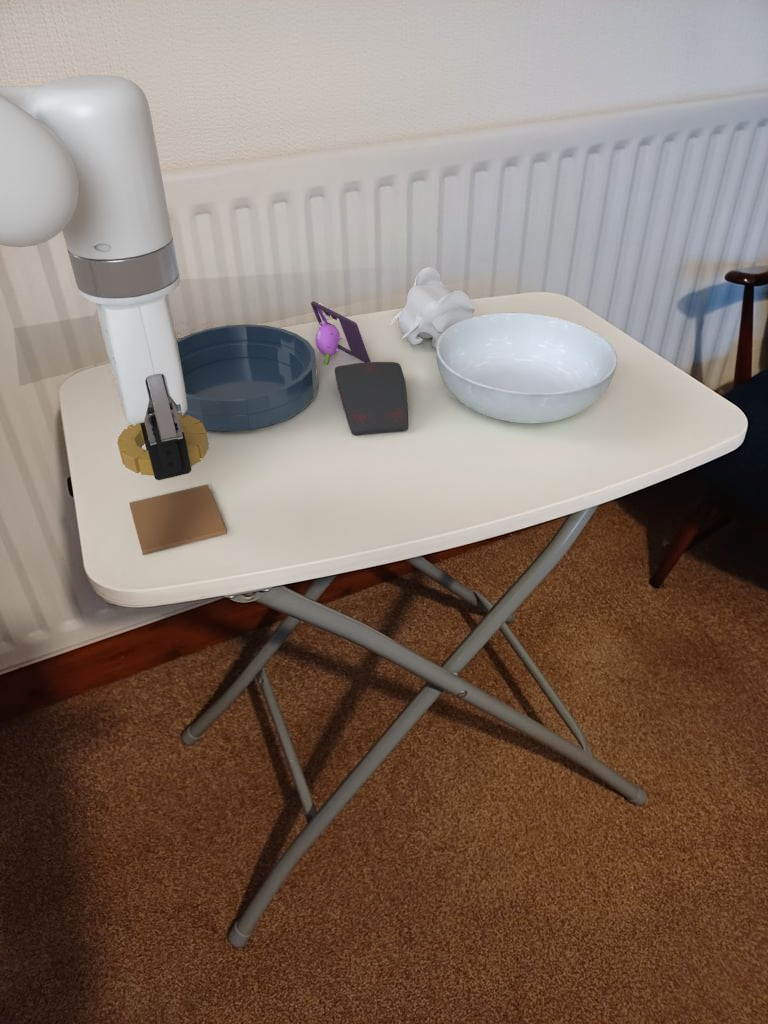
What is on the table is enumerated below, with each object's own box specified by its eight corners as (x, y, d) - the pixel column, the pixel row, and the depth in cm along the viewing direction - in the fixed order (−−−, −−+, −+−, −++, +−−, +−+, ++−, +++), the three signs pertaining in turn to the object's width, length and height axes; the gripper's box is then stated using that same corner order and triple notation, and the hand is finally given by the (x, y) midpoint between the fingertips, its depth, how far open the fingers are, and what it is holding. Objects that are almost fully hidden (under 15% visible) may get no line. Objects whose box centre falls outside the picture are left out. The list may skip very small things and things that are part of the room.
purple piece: (360, 319, 98) (316, 297, 103) (330, 344, 96) (287, 320, 101) (374, 359, 103) (331, 336, 108) (346, 383, 101) (304, 359, 107)
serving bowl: (635, 438, 89) (648, 385, 84) (454, 455, 86) (458, 401, 82) (573, 353, 105) (581, 305, 100) (419, 365, 102) (420, 316, 98)
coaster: (142, 555, 73) (141, 551, 73) (129, 506, 79) (128, 502, 79) (226, 533, 76) (226, 529, 76) (208, 488, 82) (207, 484, 81)
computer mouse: (395, 374, 100) (395, 345, 98) (415, 431, 90) (415, 401, 87) (332, 379, 99) (331, 350, 97) (345, 437, 89) (344, 407, 86)
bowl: (177, 449, 87) (170, 414, 84) (148, 372, 101) (141, 340, 98) (339, 414, 93) (337, 380, 90) (290, 345, 107) (288, 314, 104)
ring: (128, 484, 68) (124, 469, 67) (115, 438, 74) (112, 424, 73) (216, 463, 71) (214, 448, 70) (197, 420, 76) (195, 406, 75)
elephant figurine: (380, 335, 109) (379, 273, 104) (457, 320, 113) (460, 259, 107) (408, 365, 102) (409, 300, 97) (489, 348, 106) (494, 285, 100)
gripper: (63, 238, 63) (115, 430, 75) (85, 317, 52) (142, 530, 63) (157, 225, 65) (193, 414, 77) (198, 298, 54) (233, 507, 65)
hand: (170, 465), depth 70 cm, fingers closed on ring, 2 cm apart
